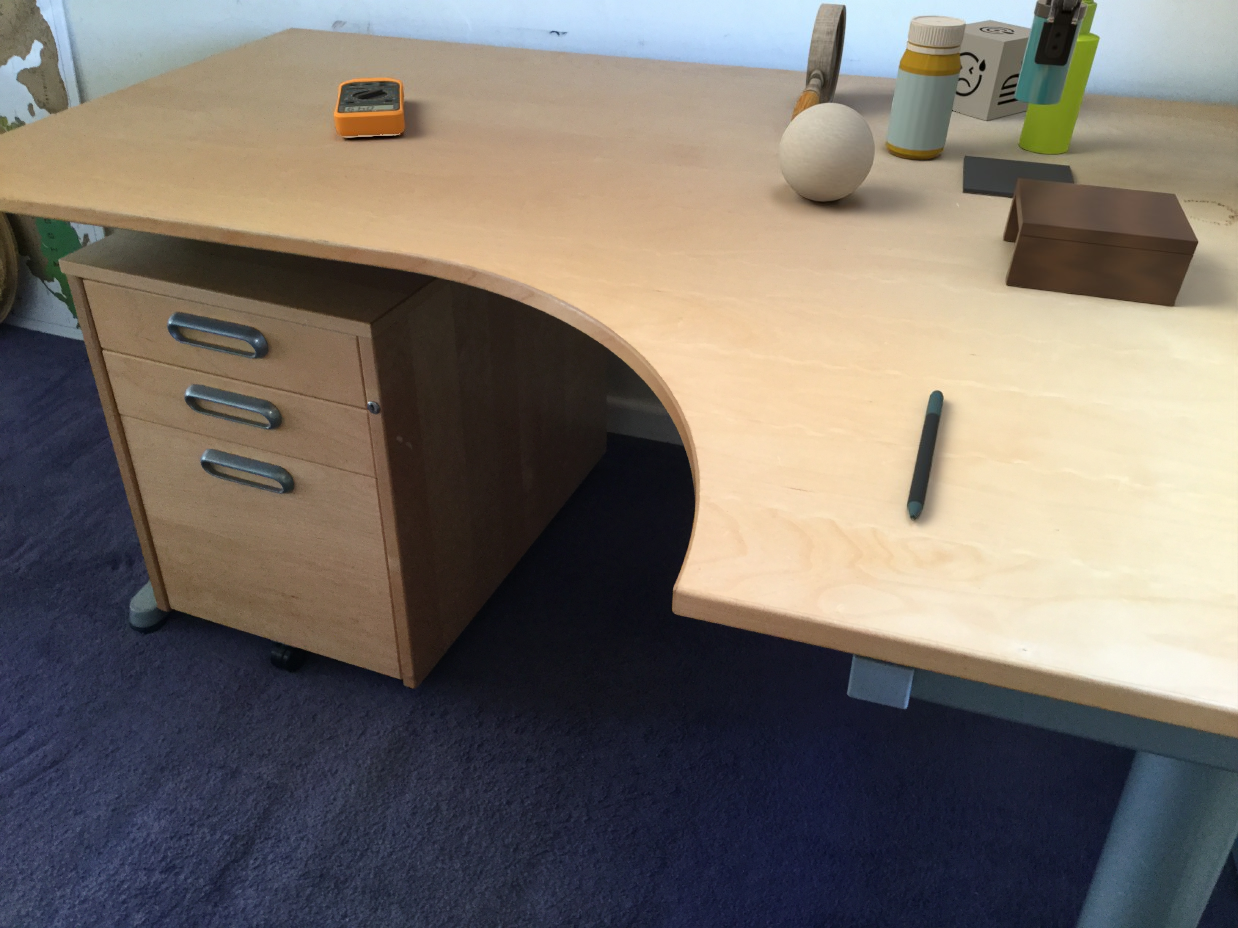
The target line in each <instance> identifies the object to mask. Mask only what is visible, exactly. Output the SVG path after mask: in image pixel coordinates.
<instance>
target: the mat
mask: <svg viewBox="0 0 1238 928" xmlns="http://www.w3.org/2000/svg"><path fill="white" fill-rule="evenodd" d="M962 168H963V170H962V171H963V172H962V173H963V174H962V175H963V176H962V193H966V194H967V193H968V194H976V195H985V196H986V195H987V196H994V197H995V196H997V197H1005V198H1013V195H1014V191H1015V187H1016V184H1017V180H1018V178H1023V179H1033V180H1043V181H1053V182H1063V183H1073V184H1075V181H1074V176H1073V173H1072V169H1071V165H1070V164H1069V165H1067V164H1056V163H1047V162H1037V161H1029V160H1028V161H1027V160H1026V161H1025V160H1017V159H1007V158H997V157H986V156H975V155H966V154H965V155H964V156H963V167H962Z"/></svg>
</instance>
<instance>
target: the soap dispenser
mask: <svg viewBox="0 0 1238 928" xmlns="http://www.w3.org/2000/svg"><path fill="white" fill-rule="evenodd" d="M1082 2H1083V3H1086V4H1087V5H1088V7H1087V10H1086V14H1085V17H1084V18H1083V21H1082V25H1081V28H1080V32H1079V35H1078V39H1077V43H1076V46H1075V50H1074V54H1073V57H1072V61H1071V64H1070V68H1069V72H1068V75H1067V79H1066V82H1065V86H1064V90H1063V93H1062V97H1061V100H1060V102H1059V103H1057V104H1052V105H1037V104H1030V103H1029V105H1028V109H1027V111H1025V112H1026V113H1025V117H1024V121H1023V125H1022V129H1021V133H1020V137H1019V140H1018V146H1019V147H1020V148H1021V149H1023V150H1025V151H1028V152H1032V153H1036V154H1043V155H1060V154H1064V153H1066V152H1068V150H1069V148H1070V144H1071V140H1072V137H1073V134H1074V130H1075V128H1076V127H1075V126H1076V123H1077V119H1078V116H1079V113H1080V108H1081V105H1082V102H1083V98H1084V96H1085V95H1084V94H1085V91H1086V88H1087V85H1088V80H1089V77H1090V74H1091V70H1092V67H1093V64H1094V59H1095V57H1096V53H1097V49H1098V45H1099V42H1100V39H1101V37H1100V36H1099V35H1097V34H1095V33H1093V32H1091V29H1092V25H1093V22H1094V18H1095V14H1096V12H1097V7H1098V3H1097V2H1095V0H1082Z"/></svg>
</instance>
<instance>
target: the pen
mask: <svg viewBox="0 0 1238 928" xmlns="http://www.w3.org/2000/svg"><path fill="white" fill-rule="evenodd" d="M944 399H945V396H944V394H943V392H942V391H941V390H937V389H936V390H933V391H932V392H931V393H930V394H929V398H928V402H927V407H926V412H925V416H924V422H923V426H922V431H921V436H920V440H919V445H918V449H917V455H916V460H915V464H914V469H913V473H912V479H911V484H910V489H909V494H908V498H907V503H906V508H907V511H908V514H909V518H910V521H911V522H914V521H915V520H916V519H917V518H918V516H919V515H920V514H921V513H922V511H923V510H924V509H925V508H924V507H925V502H926V497H927V492H928V486H929V480H930V475H931V470H932V465H933V459H934V455H935V449H936V443H937V437H938V432H939V426H940V422H941V416H942V410H943V406H944V401H945V400H944Z"/></svg>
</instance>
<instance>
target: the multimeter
mask: <svg viewBox="0 0 1238 928" xmlns="http://www.w3.org/2000/svg"><path fill="white" fill-rule="evenodd" d="M404 102H405V89H404V83H403V82H402V81H401V80H399V79H396V78H390V77H367V78H365V77H364V78H354V79H349V80H346V81H343V82H341V83H340V84H339V85H338V95H337V101H336V106H335V108H334V109H335V110H334V112H333V119H334V125H335V129H336V132H337V134H338V135H339V136H340V135H341V136H358V135H380V134H382V135H383V134H399V133H402V132H403V133H404V132H405V130H406V129H405V128H406V123H405V112H404V104H405V103H404ZM403 133H402V134H403ZM341 136H340V137H341Z"/></svg>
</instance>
